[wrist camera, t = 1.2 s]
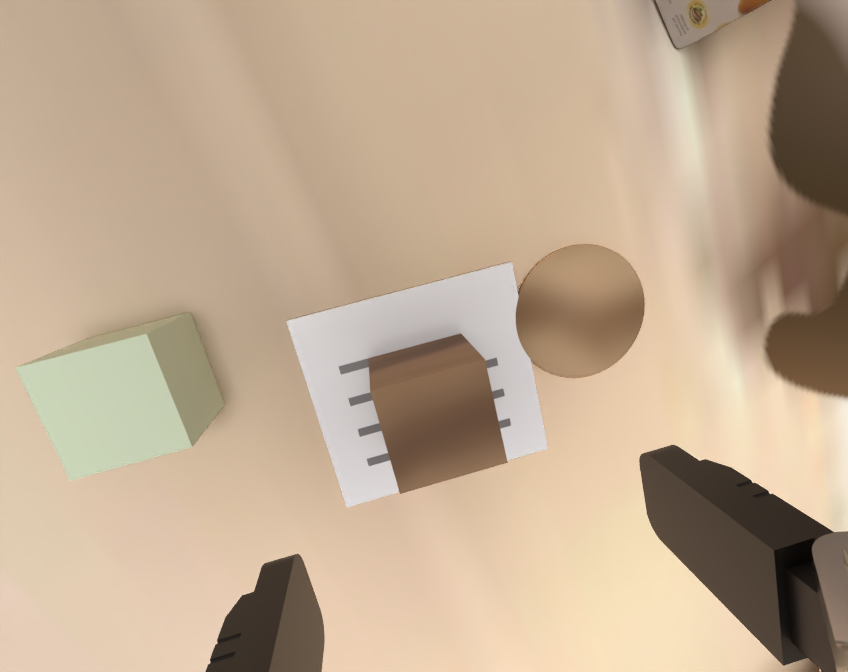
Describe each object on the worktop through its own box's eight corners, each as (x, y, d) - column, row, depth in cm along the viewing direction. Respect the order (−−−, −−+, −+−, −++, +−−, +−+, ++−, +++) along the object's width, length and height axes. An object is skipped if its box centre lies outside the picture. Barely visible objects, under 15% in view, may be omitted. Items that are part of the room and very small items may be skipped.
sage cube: (88, 338, 25) (15, 367, 20) (191, 311, 26) (146, 333, 20) (128, 430, 27) (70, 480, 21) (225, 403, 27) (192, 446, 22)
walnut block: (368, 358, 27) (370, 390, 22) (460, 333, 27) (485, 359, 22) (392, 443, 28) (399, 493, 23) (480, 418, 29) (507, 462, 23)
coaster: (501, 263, 27) (503, 264, 27) (632, 229, 28) (635, 229, 27) (527, 391, 29) (529, 392, 29) (648, 357, 30) (651, 358, 29)
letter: (287, 320, 26) (286, 321, 26) (510, 261, 27) (512, 261, 27) (346, 504, 29) (346, 507, 29) (546, 446, 30) (548, 448, 30)
